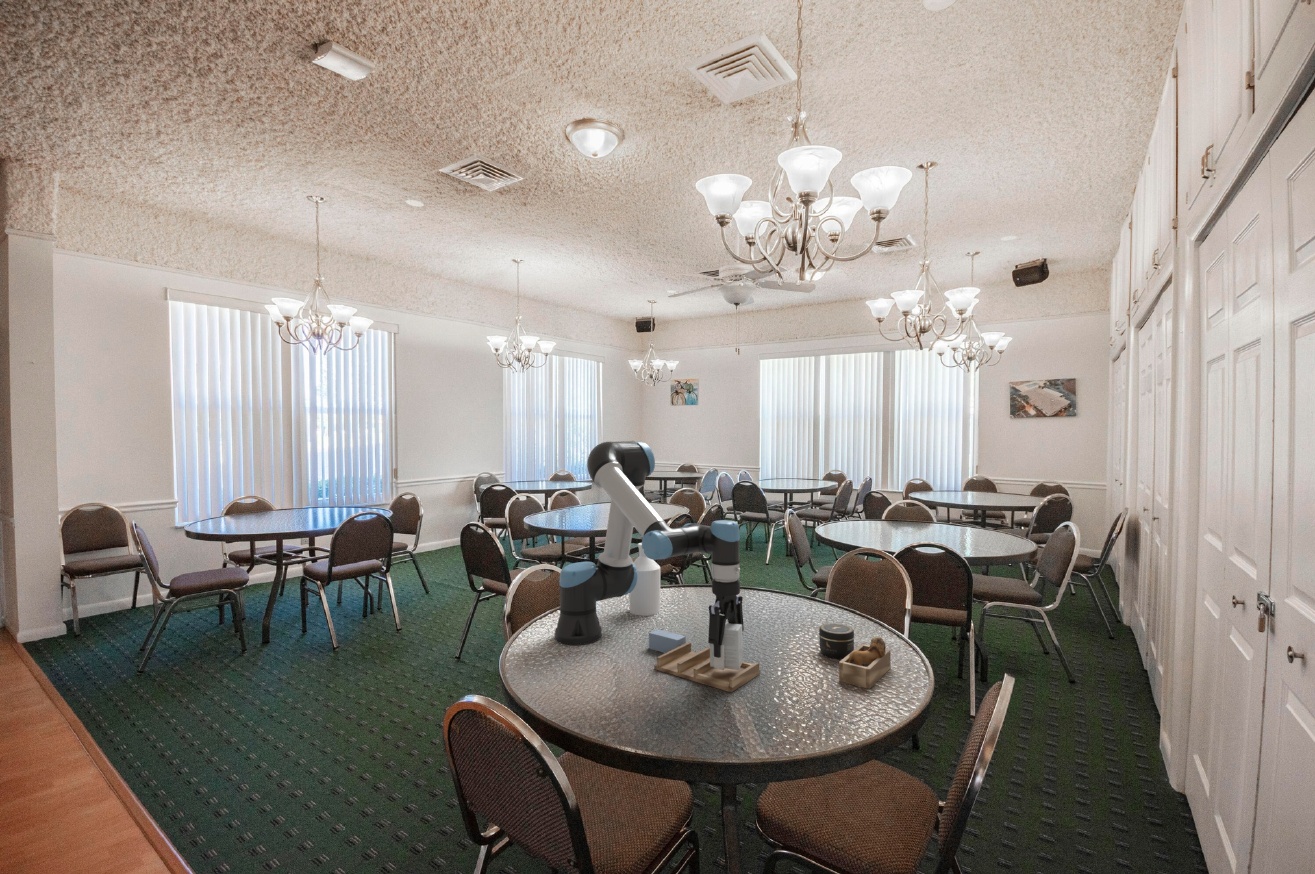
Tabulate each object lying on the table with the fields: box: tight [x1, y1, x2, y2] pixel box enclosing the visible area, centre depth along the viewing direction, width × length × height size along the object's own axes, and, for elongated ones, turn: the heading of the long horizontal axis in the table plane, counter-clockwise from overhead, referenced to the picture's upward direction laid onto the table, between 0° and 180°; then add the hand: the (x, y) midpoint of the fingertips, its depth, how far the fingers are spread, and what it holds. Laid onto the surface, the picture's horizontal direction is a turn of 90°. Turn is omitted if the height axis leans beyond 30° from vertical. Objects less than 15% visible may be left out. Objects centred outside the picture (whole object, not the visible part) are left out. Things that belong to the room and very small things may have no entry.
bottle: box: [628, 542, 661, 617], centre depth 219 cm, size 12×12×25 cm
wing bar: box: [648, 628, 687, 654], centre depth 179 cm, size 4×11×5 cm, turn 52°
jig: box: [654, 641, 761, 693], centre depth 163 cm, size 25×15×4 cm, turn 52°
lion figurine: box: [848, 636, 887, 667], centre depth 159 cm, size 15×5×9 cm, turn 122°
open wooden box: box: [838, 643, 892, 690], centre depth 159 cm, size 8×17×5 cm, turn 142°
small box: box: [709, 622, 744, 670], centre depth 159 cm, size 8×6×10 cm
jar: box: [818, 622, 855, 660], centre depth 175 cm, size 10×10×8 cm
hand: (726, 663), depth 159 cm, fingers closed on small box, 7 cm apart
